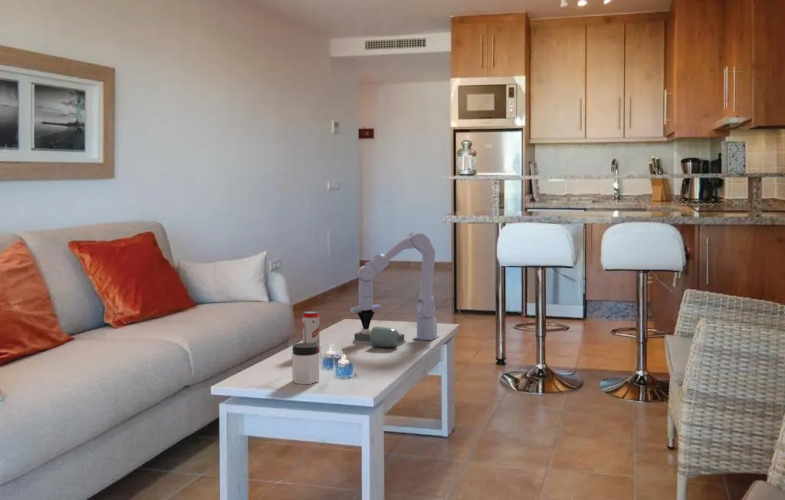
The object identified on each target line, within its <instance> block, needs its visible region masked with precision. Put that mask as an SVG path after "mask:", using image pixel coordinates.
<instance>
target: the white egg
mask: <svg viewBox="0 0 785 500" xmlns="http://www.w3.org/2000/svg"><path fill="white" fill-rule="evenodd" d="M371 330H372V329H371V327H369V329H363V327H362V328H360V331H361V334H371Z"/></svg>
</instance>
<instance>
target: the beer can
mask: <svg viewBox="0 0 785 500" xmlns="http://www.w3.org/2000/svg"><path fill="white" fill-rule="evenodd" d="M302 343H315V344H317V345H318V354H320V350H321V349H320V348H321V346H320V345H321V344H320V343H321V341H320V314H319V312H318V311H316V310H305V311H303V315H302Z"/></svg>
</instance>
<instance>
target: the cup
mask: <svg viewBox="0 0 785 500" xmlns="http://www.w3.org/2000/svg"><path fill="white" fill-rule="evenodd" d="M396 330H397V329H396ZM396 330H395V328H390V327H383V326H373V327H372V329H371V335H370V342H371V344H370V345H371V346H372V347H378V348H395V347H397V346H396V345H397V344H398V342H399V334H400V333H399V330H398V331H396Z"/></svg>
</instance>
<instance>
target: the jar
mask: <svg viewBox="0 0 785 500" xmlns="http://www.w3.org/2000/svg"><path fill="white" fill-rule="evenodd" d="M319 354H320V353H318V345H317V344H315V343H303V342H298V343H295V344H293V345H292V353H291V365H292V366H291V370H292V371H291V372H292V375H291V378H292V382H293V381H294V382H295V383H299V384H298V385H306V384H309V385H313V384H316V383H315V382H317V383H319V382H320V355H319ZM294 382H293V383H294ZM295 383H294V384H295ZM312 383H313V384H312Z"/></svg>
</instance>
